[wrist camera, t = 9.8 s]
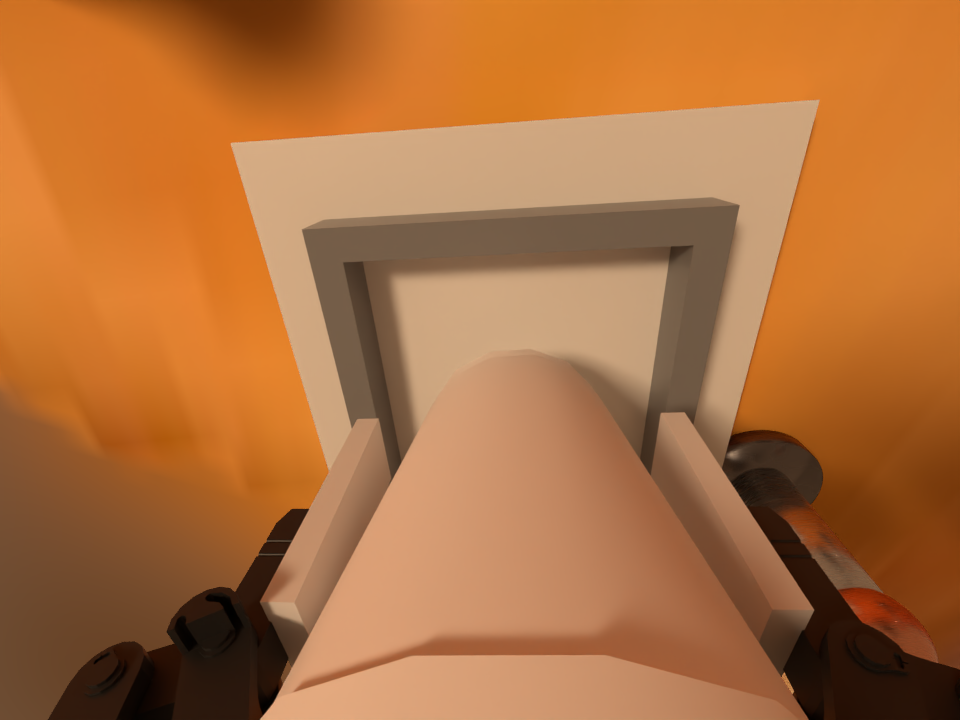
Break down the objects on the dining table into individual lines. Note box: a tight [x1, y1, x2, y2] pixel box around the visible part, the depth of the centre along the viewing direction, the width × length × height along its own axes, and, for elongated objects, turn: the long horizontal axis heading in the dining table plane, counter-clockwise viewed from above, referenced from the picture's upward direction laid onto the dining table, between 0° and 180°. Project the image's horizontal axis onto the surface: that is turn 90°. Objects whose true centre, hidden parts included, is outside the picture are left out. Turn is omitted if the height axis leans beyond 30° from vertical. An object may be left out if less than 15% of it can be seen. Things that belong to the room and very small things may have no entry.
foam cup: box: [260, 349, 809, 720], centre depth 10 cm, size 10×9×13 cm
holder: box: [231, 100, 819, 487], centre depth 19 cm, size 20×20×3 cm
